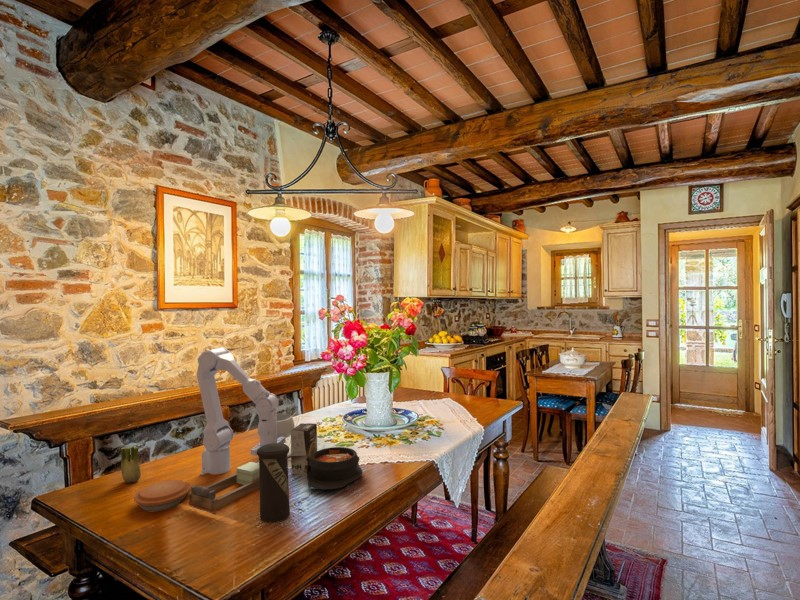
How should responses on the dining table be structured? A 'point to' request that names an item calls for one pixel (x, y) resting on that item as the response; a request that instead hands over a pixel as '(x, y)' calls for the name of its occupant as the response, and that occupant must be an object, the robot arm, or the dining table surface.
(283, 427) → the chalice
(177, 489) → the pie
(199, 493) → the bay
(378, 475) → the dining table surface
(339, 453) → the casserole
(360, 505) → the dining table surface
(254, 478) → the pale green block
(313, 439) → the coffee box
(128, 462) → the fennel bulb
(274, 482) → the container
